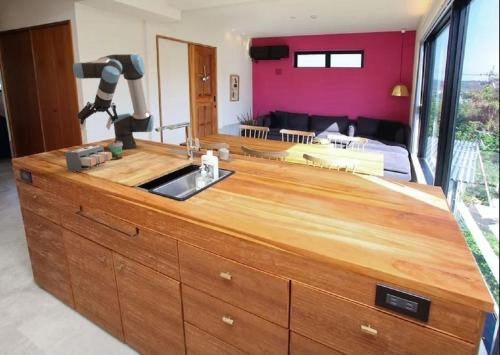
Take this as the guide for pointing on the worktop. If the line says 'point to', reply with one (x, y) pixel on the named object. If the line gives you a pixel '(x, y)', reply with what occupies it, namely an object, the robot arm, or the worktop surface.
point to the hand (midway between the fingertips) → (95, 128)
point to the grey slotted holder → (76, 154)
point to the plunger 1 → (87, 161)
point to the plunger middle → (97, 158)
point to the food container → (116, 150)
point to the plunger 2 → (106, 155)
